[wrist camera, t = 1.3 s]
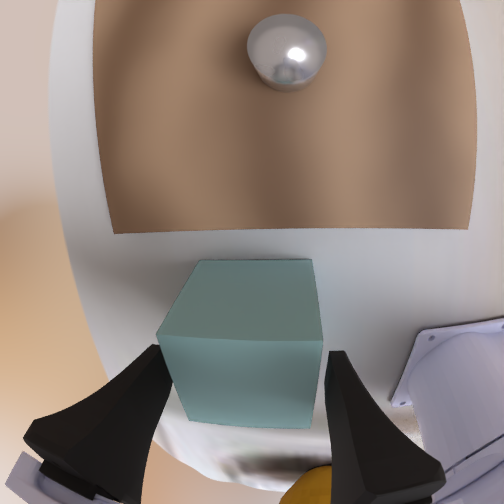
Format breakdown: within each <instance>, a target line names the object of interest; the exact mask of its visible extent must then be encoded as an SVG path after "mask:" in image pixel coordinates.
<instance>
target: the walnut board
mask: <svg viewBox="0 0 504 504" xmlns="http://www.w3.org/2000/svg"><path fill="white" fill-rule="evenodd" d="M277 14H293V15H297V16H301V17H303V18H305V19H307V20H309V21H311V22H312V23H313V24H315V25H316V26H317V27H318V28H319V29H320V31H321V32H322V34H323V36H324V38H325V41H326V45H327V54H326V58H325V61H324V63H323V64H322V66H321V68H320V70H319V71H318V73H317V75H316V76H315V78H314V80H313V81H312V82H311V83H310V84H309V85H308V86H307V87H306V88H304V89H302V90H300V91H297V92H290V93H287V92H280V91H277V90H274V89H272V88H270V87H269V86H267V85H266V84H265V83H264V82H263V81H262V79H261V78H260V76H259V74H258V72H257V71H256V69H255V67H254V65H253V64H252V62H251V60H250V58H249V55H248V51H247V41H248V37H249V35H250V33H251V31H252V29H253V28H254V27H255V26H256V25H257V24H258V23H259V22H260V21H262V20H263V19H265V18H267V17H270V16H273V15H277ZM93 85H94V104H95V117H96V128H97V137H98V146H99V154H100V161H101V168H102V174H103V181H104V187H105V192H106V198H107V203H108V208H109V213H110V218H111V222H112V227H113V232H114V234H123V233H145V232H170V231H198V230H234V229H285V228H420V229H466V230H468V226H469V220H470V213H471V207H472V199H473V191H474V181H475V169H476V152H477V108H476V91H475V80H474V70H473V63H472V56H471V49H470V43H469V38H468V33H467V28H466V24H465V19H464V15H463V11H462V7H461V4H460V0H96V1H95V13H94V30H93Z"/></svg>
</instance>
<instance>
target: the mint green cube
mask: <svg viewBox="0 0 504 504" xmlns="http://www.w3.org/2000/svg"><path fill="white" fill-rule="evenodd" d="M156 336H157V339H158V342H159V345H160V348H161V351H162V353H163V356H164V359H165V362H166V365H167V367H168V370H169V373H170V375H171V378H172V380H173V383H174V386H175V388H176V391H177V393H178V396H179V398H180V401H181V403H182V405H183V408H184V410H185V412H186V415H187V417H188V419H189V421H195V422H202V423H210V424H219V425H229V426H240V427H255V428H283V429H304V428H310V426H311V421H312V415H313V409H314V403H315V397H316V391H317V384H318V377H319V370H320V362H321V355H322V346H323V335H322V327H321V319H320V311H319V303H318V296H317V289H316V282H315V275H314V269H313V263H312V259H303V260H199V262H198V264H197V265H196V267H195V268H194V270H193V272H192V273H191V275H190V277H189V278H188V280H187V282H186V283H185V285H184V287H183V289H182V290H181V292H180V294H179V295H178V297H177V299H176V300H175V302H174V304H173V305H172V307H171V309H170V311H169V312H168V314H167V316H166V318H165V319H164V321H163V323H162V325H161V326H160V328H159V330H158V332H157V333H156Z"/></svg>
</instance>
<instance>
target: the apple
mask: <svg viewBox="0 0 504 504" xmlns="http://www.w3.org/2000/svg"><path fill="white" fill-rule="evenodd" d="M331 478H332V466H321V467H317V468H314V469H311V470H309V471H308V472H306V473H305V474H303V475H302V476H301V477H300V478H299V479H298V480H297V481H296V482H295V483H294V484H293V485H292V487H291V488H290V489H289V490H288V491H287V492H286V493H285V495H284V496H283V497H282V498H281V501H280V503H279V504H330V502H331Z"/></svg>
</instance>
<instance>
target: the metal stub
mask: <svg viewBox="0 0 504 504" xmlns="http://www.w3.org/2000/svg"><path fill="white" fill-rule="evenodd" d="M247 51H248V55H249V58H250V60H251V62H252V64H253V65H254V67H255V69H256V71H257V72H258V74H259V76H260V78H261V79H262V81H263V82H264V83H265V84H266V85H267V86H269V87H270V88H272V89H274V90H277V91H280V92H287V93H290V92H297V91H300V90H302V89H304V88H306V87H307V86H308V85H309V84H310V83H311V82H312V81H313V80H314V78H315V76H316V75H317V73H318V71H319V70H320V68H321V66H322V64H323V63H324V61H325V58H326V54H327V45H326V41H325V38H324V36H323V34H322V32H321V31H320V29H319V28H318V27H317V26H316V25H315V24H313V23H312V22H311V21H309V20H307V19H305V18H303V17H301V16H297V15H293V14H277V15H273V16H270V17H267V18H265V19H263V20H262V21H260V22H259V23H258V24H257V25H256V26H255V27H254V28H253V29H252V31H251V33H250V35H249V37H248V41H247Z"/></svg>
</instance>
